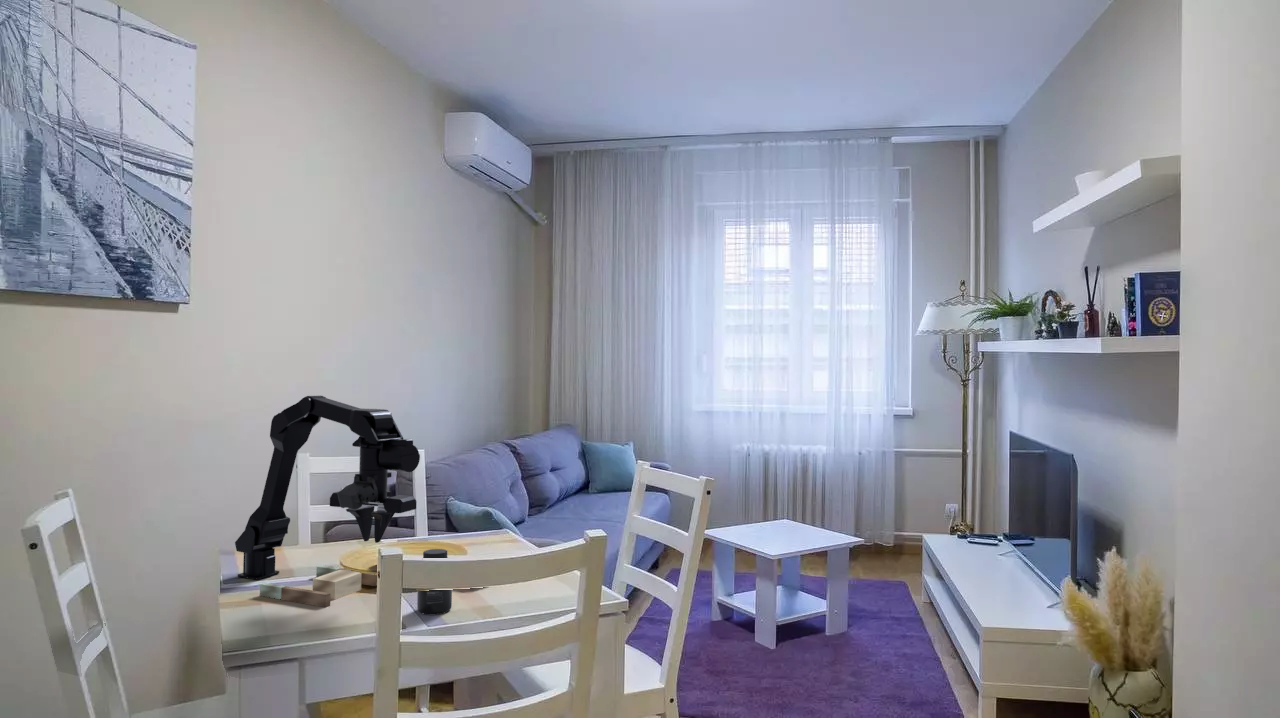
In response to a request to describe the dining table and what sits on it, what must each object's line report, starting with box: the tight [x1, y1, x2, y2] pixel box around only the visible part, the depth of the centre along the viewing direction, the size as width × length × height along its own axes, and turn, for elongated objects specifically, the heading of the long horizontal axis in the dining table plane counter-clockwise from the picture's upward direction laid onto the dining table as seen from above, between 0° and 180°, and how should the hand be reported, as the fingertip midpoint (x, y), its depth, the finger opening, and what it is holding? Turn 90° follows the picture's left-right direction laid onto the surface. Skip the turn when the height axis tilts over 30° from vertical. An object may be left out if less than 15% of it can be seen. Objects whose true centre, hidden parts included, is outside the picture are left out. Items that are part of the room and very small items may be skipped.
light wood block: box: [312, 570, 362, 600], centre depth 166 cm, size 6×8×4 cm
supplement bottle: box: [416, 548, 453, 615], centre depth 156 cm, size 7×7×12 cm
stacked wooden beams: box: [259, 565, 377, 608], centre depth 168 cm, size 18×17×2 cm
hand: (371, 541), depth 163 cm, fingers open, 3 cm apart
